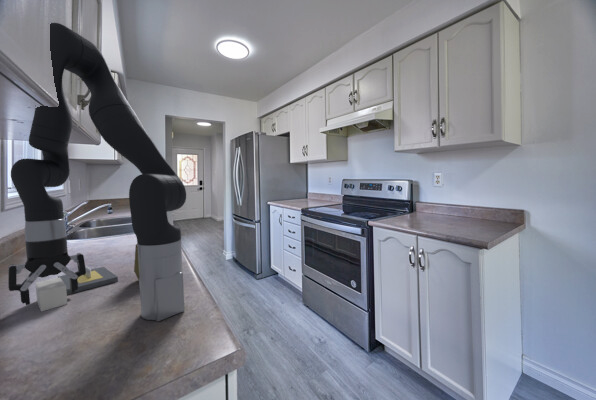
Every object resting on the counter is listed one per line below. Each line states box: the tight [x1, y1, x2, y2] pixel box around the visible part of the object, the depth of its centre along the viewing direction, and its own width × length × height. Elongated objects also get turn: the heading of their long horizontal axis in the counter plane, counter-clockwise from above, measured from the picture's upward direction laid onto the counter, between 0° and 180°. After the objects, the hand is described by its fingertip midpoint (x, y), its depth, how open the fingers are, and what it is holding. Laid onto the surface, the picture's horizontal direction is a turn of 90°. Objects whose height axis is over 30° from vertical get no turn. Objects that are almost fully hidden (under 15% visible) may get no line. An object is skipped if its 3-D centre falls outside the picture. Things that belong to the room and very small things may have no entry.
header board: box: [57, 265, 119, 296], centre depth 80 cm, size 16×12×4 cm
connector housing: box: [34, 277, 68, 312], centre depth 66 cm, size 9×5×5 cm, turn 51°
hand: (51, 297), depth 66 cm, fingers open, 8 cm apart
